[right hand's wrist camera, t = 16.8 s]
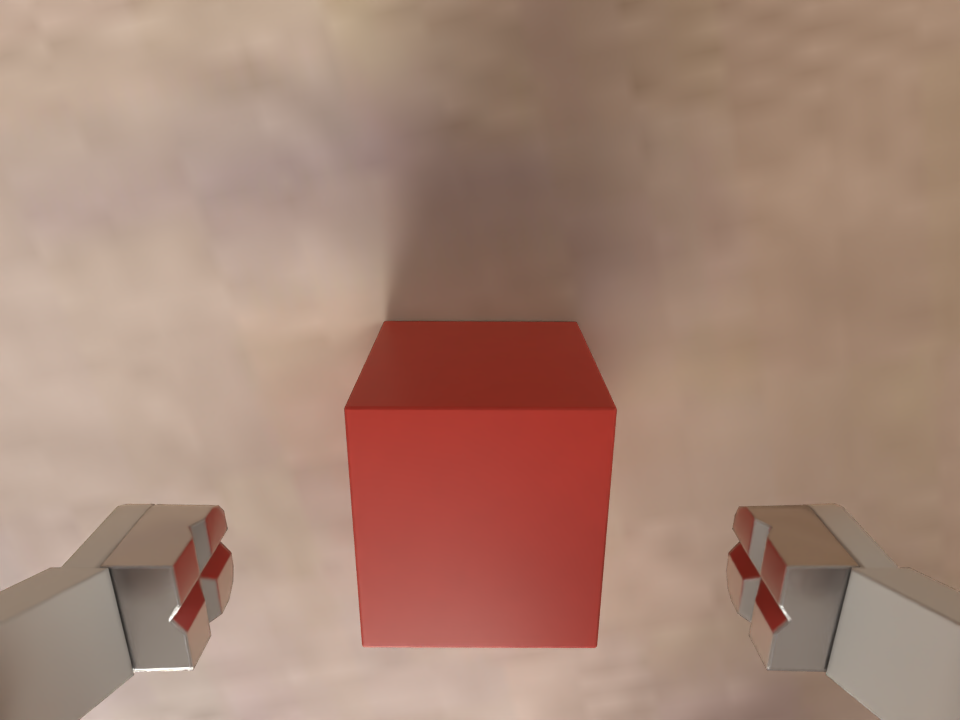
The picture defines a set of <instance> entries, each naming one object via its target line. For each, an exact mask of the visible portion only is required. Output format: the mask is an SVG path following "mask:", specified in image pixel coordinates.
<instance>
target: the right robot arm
mask: <svg viewBox="0 0 960 720" xmlns="http://www.w3.org/2000/svg"><path fill="white" fill-rule="evenodd" d="M227 529H228V528H227V523H226V518H225V513H224V510H223V509H222V508H221V507H220V506H219V505H174V504H157V505H155V504H125V505H121V506H118V507H117V508H116V509H115V510H114V511H113V512H112V513H111V514H110V515H109V516H108V517H107V518H106V520H105V521H104V522H103V523H102V524H101V525H100V526H99V527H98V528H97V529H96V530H95V531H94V533H93V534H92V535H91V536H90V537H89V538H88V539H87V540H86V541H85V542H84V543H83V544H82V545H81V547H80V548H79V549H78V550H77V551H76V552H75V553H74V554H73V555H72V556H71V557H70V558H69V560H68V561H67V562H66V563H65V564H64V565H63V566H62V567H61V568H49V569H47V570H45V571H43V572H40V573H38V574H36V575H34V576H32V577H30V578H28V579H26V580H24V581H22V582H20V583H17V584H15V585H13V586H11V587H9V588H7V589H5V590H3V591H1V592H0V720H80V719H81V718H82V717H83V716H84V715H86V714H87V713H88V712H89V711H91V710H92V709H93V708H94V707H95V706H97V705H98V704H99V703H100V702H102V701H103V700H104V699H105V698H106V697H108V696H109V695H110V694H111V693H113V692H114V691H115V690H116V689H117V688H119V687H120V686H121V685H122V684H124V683H125V682H126V681H127V680H128V679H130V678H131V677H132V676H133V675H134V672H146V671H181V670H194V668H195V666H196V664H197V662H198V660H199V658H200V656H201V654H202V652H203V650H204V648H205V647H206V645H207V643H208V641H209V639H210V637H211V632H210V626H209V623H210V622H211V621H213V620H214V619H215V618H217V617H218V616H220V615H221V614H222V613H223V611H224V609H225V607H226V605H227V603H228V601H229V598H230V593H231V589H232V584H233V560H232V553H231V552H230V551H229V550H228V549H227V548H226V547H225V546H224V545H223V544H222V543H221V542H220V541H221V539H222V538H223V536H224V534H225V533H226V531H227ZM732 529H733V531H734V533H735V534H736V536H737V538H738V539H739V541H740V542H739V543H738V544H737V545H736V546H735V547H734V548H733V549H732V550H731V551H730V552H729V553H728V561H727V569H726V573H727V584H728V591H729V594H730V597H731V601H732V603H733V605H734V607H735V609H736V611H737V613H738V614H739V615H740V616H742V617H743V618H745V619H746V620H747V621H749V622H750V623H751V626H750V632H749V637H750V639H751V641H752V643H753V645H754V646H755V648H756V650H757V652H758V654H759V656H760V658H761V660H762V662H763V664H764V666H765V668H766V670H778V671H814V672H826V675H827V676H828V677H829V678H831V679H832V680H833V681H834V682H836V683H837V684H838V685H839V686H840V687H842V688H843V689H844V690H845V691H847V692H848V693H849V694H850V695H851V696H853V697H854V698H855V699H856V700H857V701H859V702H860V703H861V704H862V705H864V706H865V707H866V708H867V709H868V710H870V711H871V712H872V713H873V714H875V715H876V716H877V717H878V718H879V719H881V720H960V592H959V591H957V590H955V589H953V588H951V587H949V586H947V585H945V584H942V583H940V582H938V581H936V580H934V579H932V578H930V577H928V576H926V575H924V574H922V573H920V572H917V571H915V570H913V569H911V568H899V567H898V566H897V565H896V564H895V563H894V562H893V561H892V560H891V558H890V557H889V556H888V555H887V554H886V553H885V552H884V551H883V550H882V549H881V548H880V547H879V545H878V544H877V543H876V542H875V541H874V540H873V539H872V538H871V537H870V536H869V535H868V534H867V532H866V531H865V530H864V529H863V528H862V527H861V526H860V525H859V524H858V523H857V522H856V521H855V519H854V518H853V517H852V516H851V515H850V514H849V513H848V512H847V511H846V510H845V509H844V508H843V507H842V506H839V505H837V504H807V505H782V506H739V507H738V510H737V512H736V514H735V517H734V522H733V528H732Z"/></svg>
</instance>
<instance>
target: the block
mask: <svg viewBox="0 0 960 720" xmlns="http://www.w3.org/2000/svg"><path fill="white" fill-rule="evenodd" d="M344 412H345V425H346V439H347V452H348V465H349V478H350V491H351V505H352V518H353V531H354V544H355V557H356V571H357V584H358V597H359V610H360V623H361V637H362V645H363V647H479V648H595V647H596V646H597V641H598V629H599V617H600V605H601V593H602V581H603V569H604V557H605V545H606V533H607V521H608V509H609V497H610V485H611V473H612V461H613V449H614V437H615V425H616V413H617V409H616V406H615V404H614V402H613V400H612V398H611V396H610V393H609V391H608V389H607V387H606V385H605V383H604V380H603V378H602V376H601V374H600V372H599V370H598V367H597V365H596V363H595V361H594V359H593V357H592V354H591V352H590V350H589V348H588V346H587V344H586V341H585V339H584V337H583V335H582V333H581V330H580V328H579V326H578V324H577V322H475V321H385V322H384V323H383V325H382V327H381V330H380V332H379V334H378V336H377V338H376V340H375V343H374V345H373V347H372V349H371V351H370V354H369V356H368V358H367V360H366V362H365V364H364V367H363V369H362V371H361V373H360V375H359V377H358V380H357V382H356V384H355V386H354V388H353V391H352V393H351V395H350V397H349V399H348V401H347V404H346V406H345V408H344Z"/></svg>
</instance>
